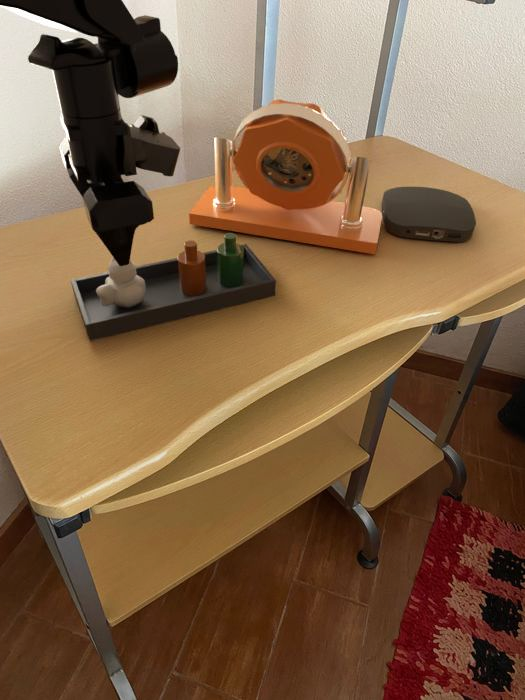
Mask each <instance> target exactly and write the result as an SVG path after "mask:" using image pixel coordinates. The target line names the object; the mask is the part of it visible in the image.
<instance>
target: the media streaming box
mask: <svg viewBox="0 0 525 700" xmlns="http://www.w3.org/2000/svg"><path fill="white" fill-rule="evenodd" d="M381 213H382V221H383V225H384V228H385V229H386V230H387V231H388V232H389V233H391V234H393V235H395V236H397V237H402V238H408V239H417V240H427V241H440V242H441V241H442V242H455V243H456V242H457V243H460V242H466V241H468V240H470V239H471V238H472V237H473V234H474V231H475V228H476V225H477V221H476V216H475V212H474V209H473V207H472V205H471V203H470V202H469V201H468V200H467V199H466V198H465V197H463V196H461V195H459V194H457V193H454V192H452V191H448V190H444V189H441V188H435V187H427V186H396V187H392V188H389V189H386V190H385V191H384V192H383V195H382V200H381Z"/></svg>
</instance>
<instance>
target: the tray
mask: <svg viewBox="0 0 525 700" xmlns="http://www.w3.org/2000/svg"><path fill="white" fill-rule="evenodd" d="M240 245H241V246H242V247H243V248H244V264H243V282H242V283H241V284H240V285H238V286H236V287H226V286H223V285H221V284H220V283H219V282H218V274H217V249H214V250H210V251H205V252H202V253H203V254H204V255H205V265H206V291H205V292H204V293H202V294H200V295H197V296H189V295H185V294H183V293H182V292H181V290H180V282H179V270H178V257H177V258H175V257H174V258H170V259H166V260H161V261H156V262H155V261H154V262H151V263H145V264H141V265H137V269H136V275H138V276H140V277H141V278H143V279H144V280H145V285H146V291H145V295H144V298H143V300H142V301H141V302H140V303H139V304H137V305H135V306H133V307H130V308H125V307H120V306H117V305H115V304H112V305H110V306H103V305H102V304H101V299H100V297H99V296H98V295H97V292H96V289H97V288H98V287H100V286H102V285H105V280H106V278H108V277H109V271H107V272H106V271H105V272H103V273H102V272H101V273H96V274H92V275H87V276H82V277H78V278H77V277H76V278H72V279H70V284H71V287H72V292H73V296H74V298H75V301H76V304H77V308H78V311H79V314H80V317H81V320H82V322H83V323H82V324H83V326H84V329H85V332H86V335H87V338H88V341H89V342H91V341H95V340H98V339H103V338H107V337H111V336H116V335H119V334H124V333H127V332H131V331H135V330H140V329H143V328H147V327H152V326H156V325H160V324H164V323H168V322H172V321H177V320H180V319H184V318H189V317H192V316H193V317H194V316H196V315H201V314H205V313H210V312H214V311H217V310H221V309H225V308H230V307H234V306H237V305H241V304H247V303H250V302H254V301H259V300H261V299H262V300H263V299H267V298H270V297H274V296H276V291H277V280H276V278H275V277H274V276H273V275H272V273H271V272H270V271H269V270H268V268H266V266H265V265H264V264H263V262H261V260H260V259H259V257H258V256H257V255H256V254H255V253H254V251H253V250H252V249H251V247H249V245H248V244H247V243H244V244H240Z"/></svg>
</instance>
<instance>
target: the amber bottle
mask: <svg viewBox="0 0 525 700" xmlns="http://www.w3.org/2000/svg"><path fill="white" fill-rule="evenodd" d="M183 245H184V251H181V252H180V253H178V255H177V258H178V270H179V282H180V290H181V292H182V293H183V294H185V295H189V296H197V295H200V294H202V293H204V292H205V291H206V265H205V255H204V254H203V253H204V252H202V251H200V250H198V243H197V241H195V240H186V241H185V242H184V243H183Z"/></svg>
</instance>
